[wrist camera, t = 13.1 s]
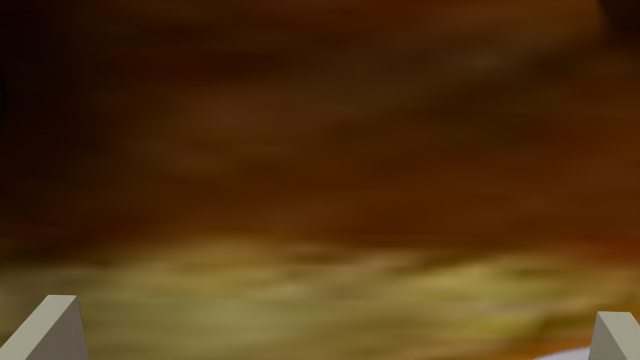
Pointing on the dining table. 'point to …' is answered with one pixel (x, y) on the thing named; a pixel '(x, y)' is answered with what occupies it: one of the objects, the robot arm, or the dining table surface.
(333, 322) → the dining table surface
